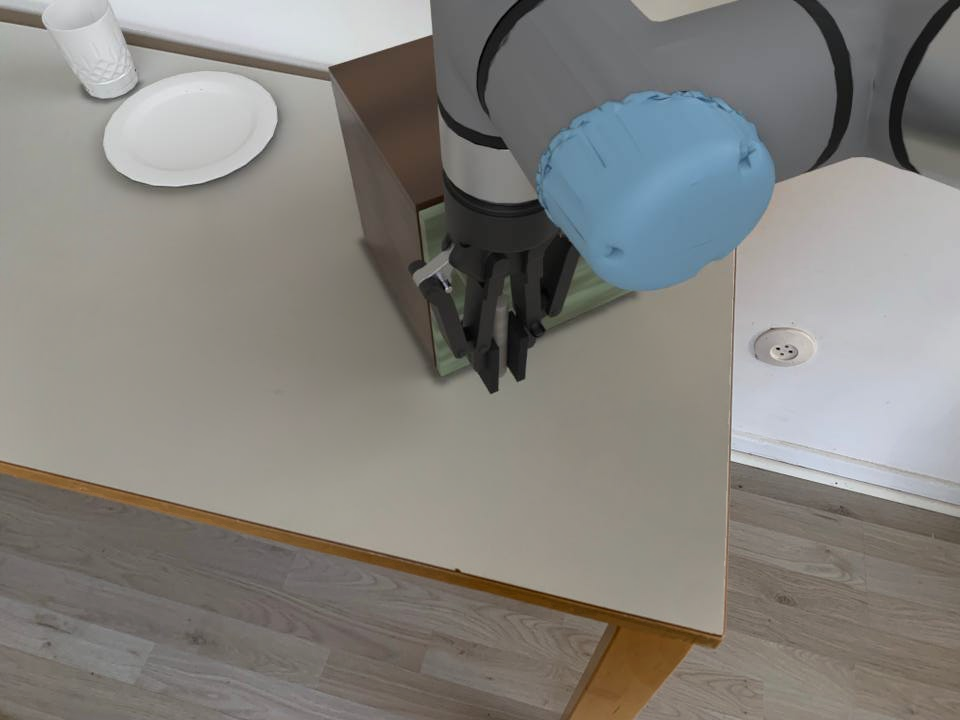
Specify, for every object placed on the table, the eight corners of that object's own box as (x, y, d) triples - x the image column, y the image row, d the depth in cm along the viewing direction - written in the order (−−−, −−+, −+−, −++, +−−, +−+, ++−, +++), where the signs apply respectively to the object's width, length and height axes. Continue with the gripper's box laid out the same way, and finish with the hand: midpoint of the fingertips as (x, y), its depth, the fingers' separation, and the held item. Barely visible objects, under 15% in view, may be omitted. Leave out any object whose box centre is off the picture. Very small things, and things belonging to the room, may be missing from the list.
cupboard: (625, 284, 77) (668, 111, 58) (434, 366, 71) (415, 204, 53) (540, 176, 85) (554, -4, 67) (365, 242, 80) (327, 66, 62)
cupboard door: (668, 336, 73) (727, 172, 54) (471, 429, 67) (464, 282, 49) (626, 285, 76) (669, 114, 58) (436, 369, 71) (418, 211, 53)
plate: (243, 207, 83) (238, 196, 82) (76, 182, 86) (69, 171, 84) (303, 91, 94) (301, 79, 93) (154, 72, 97) (149, 60, 95)
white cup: (89, 110, 93) (49, 38, 84) (74, 76, 96) (34, 4, 88) (150, 89, 95) (117, 17, 86) (133, 57, 98) (100, -15, 90)
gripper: (583, 87, 46) (554, 310, 66) (362, 164, 42) (402, 375, 62) (651, 161, 42) (598, 373, 62) (416, 253, 39) (440, 446, 59)
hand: (500, 374), depth 62 cm, fingers closed on cupboard door, 2 cm apart
